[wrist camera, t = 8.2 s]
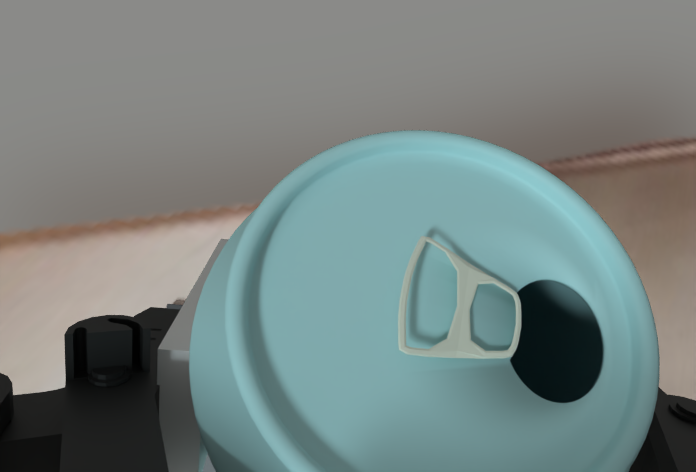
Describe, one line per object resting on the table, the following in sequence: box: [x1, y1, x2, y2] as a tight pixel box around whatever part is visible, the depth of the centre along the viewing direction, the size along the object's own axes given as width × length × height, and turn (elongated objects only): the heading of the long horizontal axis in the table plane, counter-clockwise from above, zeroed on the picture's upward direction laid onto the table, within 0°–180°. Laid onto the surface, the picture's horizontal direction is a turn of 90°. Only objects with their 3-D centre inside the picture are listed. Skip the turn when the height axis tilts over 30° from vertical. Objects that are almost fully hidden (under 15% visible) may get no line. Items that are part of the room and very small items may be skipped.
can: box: [189, 130, 659, 472], centre depth 13 cm, size 7×7×12 cm
